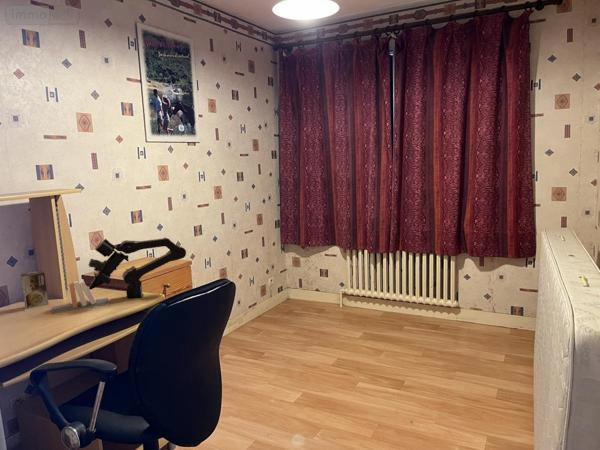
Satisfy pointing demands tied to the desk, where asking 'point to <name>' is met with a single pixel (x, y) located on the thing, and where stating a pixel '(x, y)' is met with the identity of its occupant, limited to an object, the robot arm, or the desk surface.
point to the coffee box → (34, 289)
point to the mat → (79, 305)
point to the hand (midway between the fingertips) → (89, 289)
